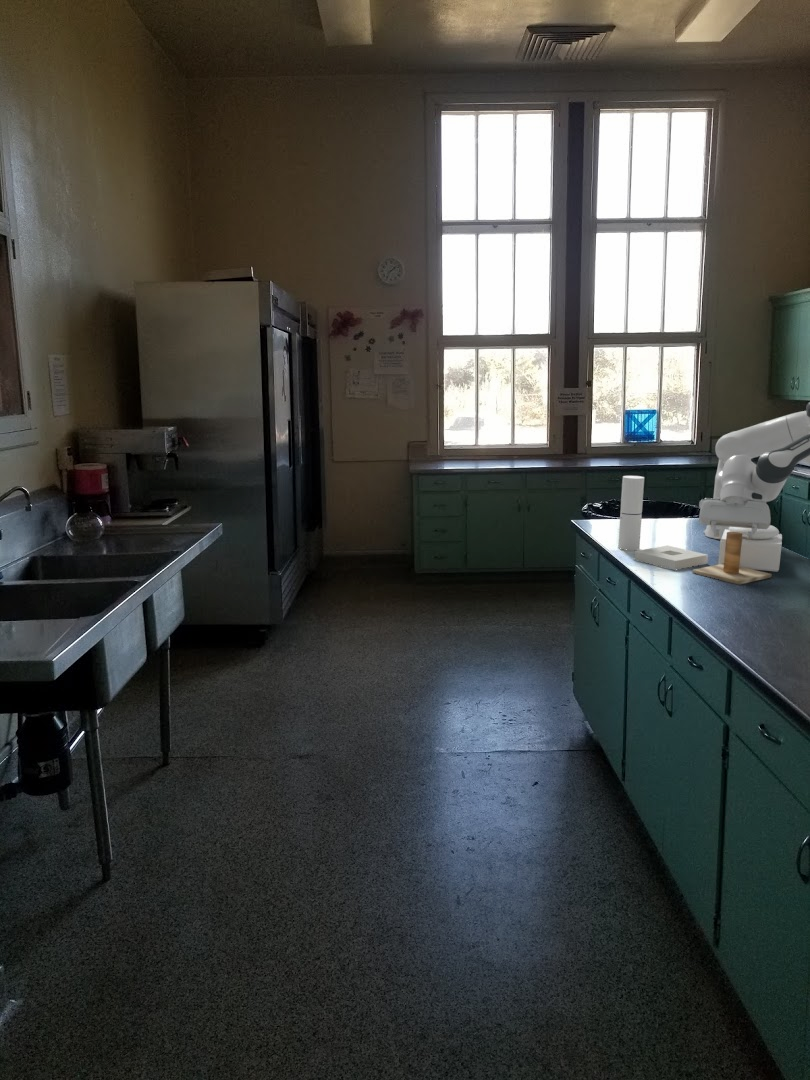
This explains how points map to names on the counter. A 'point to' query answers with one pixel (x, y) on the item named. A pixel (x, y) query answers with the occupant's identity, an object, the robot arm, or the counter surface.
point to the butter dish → (756, 548)
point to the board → (739, 578)
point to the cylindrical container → (631, 512)
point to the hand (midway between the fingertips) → (733, 536)
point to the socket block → (671, 557)
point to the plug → (732, 552)
